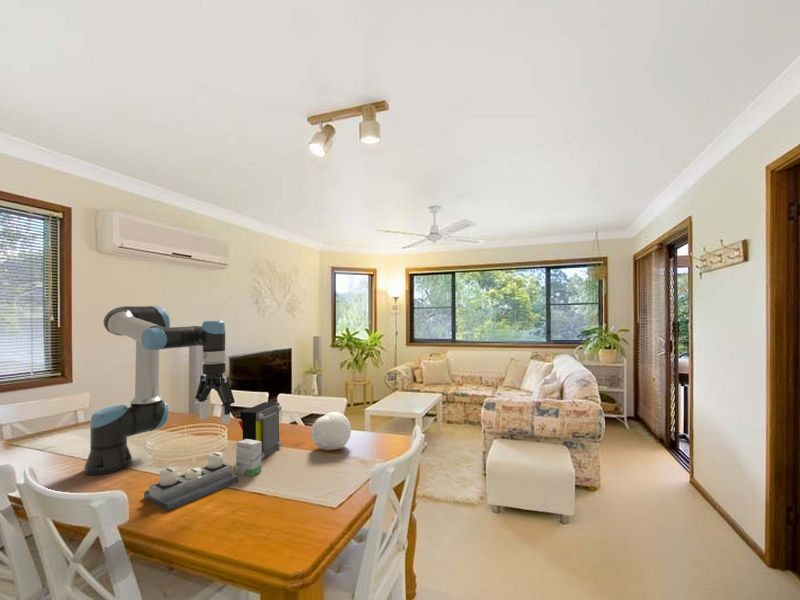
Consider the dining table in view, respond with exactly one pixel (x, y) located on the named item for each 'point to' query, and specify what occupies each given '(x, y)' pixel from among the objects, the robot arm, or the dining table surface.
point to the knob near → (168, 476)
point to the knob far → (215, 460)
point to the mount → (191, 487)
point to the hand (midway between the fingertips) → (214, 421)
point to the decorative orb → (331, 431)
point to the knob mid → (192, 473)
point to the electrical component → (262, 425)
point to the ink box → (248, 457)
